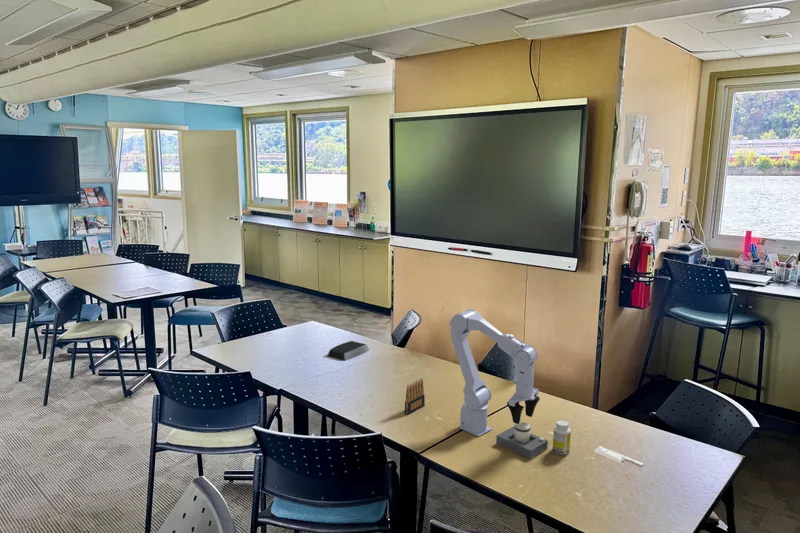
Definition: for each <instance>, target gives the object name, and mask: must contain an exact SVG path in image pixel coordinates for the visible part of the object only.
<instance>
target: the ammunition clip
mask: <svg viewBox="0 0 800 533" xmlns="http://www.w3.org/2000/svg"><path fill="white" fill-rule="evenodd" d="M424 389H425V388H424V379H423V377H421V378H420V379H418V380H416V381H413V382H412V383H410V384H407V386H406V392H405V401H404V415H406V416H409V414H410V415H412V414H413V413H415V412H416V410H417V411H418V409H419V410H420V409H422V408H424V407H425V406H426V405H425V404H426V403H425V401H426V400H425V394H424V393H425V390H424Z"/></svg>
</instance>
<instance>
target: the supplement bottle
mask: <svg viewBox="0 0 800 533" xmlns="http://www.w3.org/2000/svg"><path fill="white" fill-rule="evenodd" d="M569 424H570V423H569V422H568V421H565V420H557V421H556V424H555V426H554V427H553V436H552V450H553V453H555V454H558V455H567V454H569V453H570V450H571V436H572V435H571V434H572V433H571V432H572V431H571V428H570V425H569Z"/></svg>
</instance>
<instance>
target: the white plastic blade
mask: <svg viewBox="0 0 800 533" xmlns="http://www.w3.org/2000/svg"><path fill="white" fill-rule="evenodd" d="M593 453H596V454H598V455H601V456H604V457H606V458H608V459H610V460H613V461H615V462H618V463H620V464H622V462H625V461H628V462H630V463H632V462H633V463H632V464H635V465H637V466H639V467H643V466H644V465H643V464H644V463H643V462H641V461H638V460H636V459H633V458H631V457H628V456H625V455H623V454H621V453H619V452H616V451H614V450H611V449H609V448H606V447H603V446H600V445H599V446H597V447H596V448H595V449H594V451H593ZM624 459H625V460H624ZM642 465H643V466H642Z"/></svg>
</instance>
